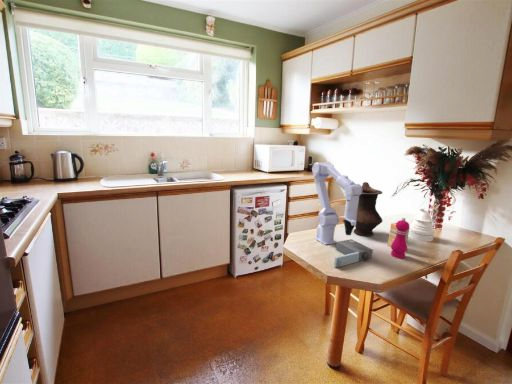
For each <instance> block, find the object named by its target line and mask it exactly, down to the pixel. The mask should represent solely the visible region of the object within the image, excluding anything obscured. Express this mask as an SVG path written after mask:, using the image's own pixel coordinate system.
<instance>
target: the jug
mask: <svg viewBox="0 0 512 384" xmlns="http://www.w3.org/2000/svg"><path fill="white" fill-rule="evenodd" d="M361 187H362V194H361V195H360V196H359V201H358V208H357V216H356V218H357V220H356V226H355V227H354V228H355V229H353V233H354V234H355V235H357V236H363V237H370V236H373V235H374V231H373V230H374V229H375V228H377V227H378V226H379V225H380V224H382V223H383V219H382V217H381V215H380V214H379V212H378V211H377V209H376V206H377V199H378V197H379V195H382V194H383V191H382V190H379V189H375V188H373V187H372V186H370V184H369V182H367V181H365V182H363V183H362V185H361Z"/></svg>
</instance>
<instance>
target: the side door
mask: <svg viewBox="0 0 512 384" xmlns="http://www.w3.org/2000/svg"><path fill="white" fill-rule="evenodd" d="M358 259H359V253H358V252H356V253H351V254H347V255H344V254H342V255H339V256H335V257H334V264H333V266H334V268H339V267H342V266H345V265H350V264H355V263H358V262H359V261H358Z"/></svg>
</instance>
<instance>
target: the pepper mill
mask: <svg viewBox="0 0 512 384" xmlns="http://www.w3.org/2000/svg"><path fill="white" fill-rule="evenodd" d="M395 223H396V228H397V229H396V233H397V234H396V238H395V240H394V241H393V242H392V245H391V247H390V249H391V253H390V255H391V256H392V257H394V258H395V259H405V257H406V252H407V251H408V243H407V244H406V240H405V237H406V234H407V230H408V229H409V228H410V223H409V222H408V221H406V217H402V218H401V220H398V221H397V222H395ZM409 230H410V229H409Z"/></svg>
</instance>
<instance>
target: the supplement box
mask: <svg viewBox="0 0 512 384" xmlns="http://www.w3.org/2000/svg"><path fill="white" fill-rule="evenodd" d="M396 223H397V222H391V224H390V229H389V234H388V241H387V247H390V248H391V245H392V242H393V241H394V240H395V238H396V234H397V233H396V229H397V228H396ZM409 230H410V227H409V229H408V230H407V234H406V237H405V240H406V244H407V245H408V238H409Z"/></svg>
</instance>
